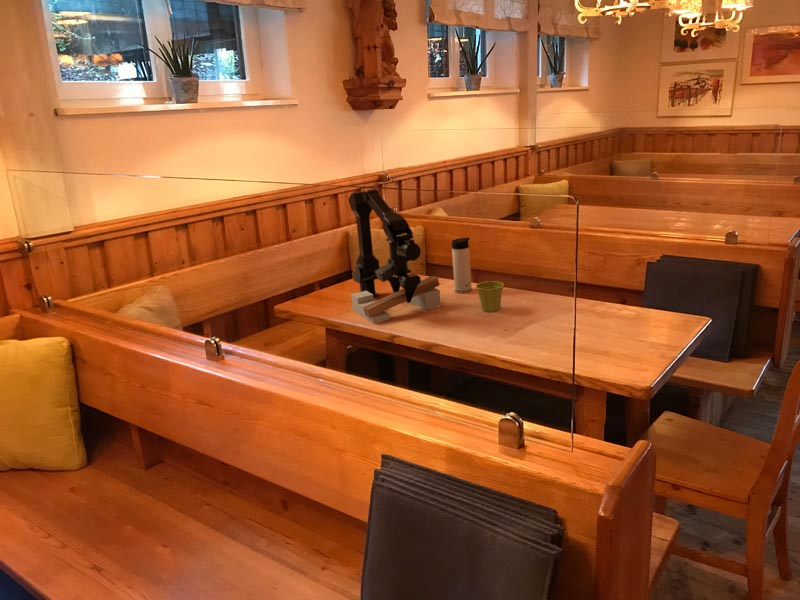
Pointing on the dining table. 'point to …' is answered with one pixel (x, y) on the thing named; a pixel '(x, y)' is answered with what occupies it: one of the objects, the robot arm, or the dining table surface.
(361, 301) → the notch rack
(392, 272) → the robot arm
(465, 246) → the travel mug
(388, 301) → the walnut bar
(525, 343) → the dining table surface
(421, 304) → the notch rack
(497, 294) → the plant pot
